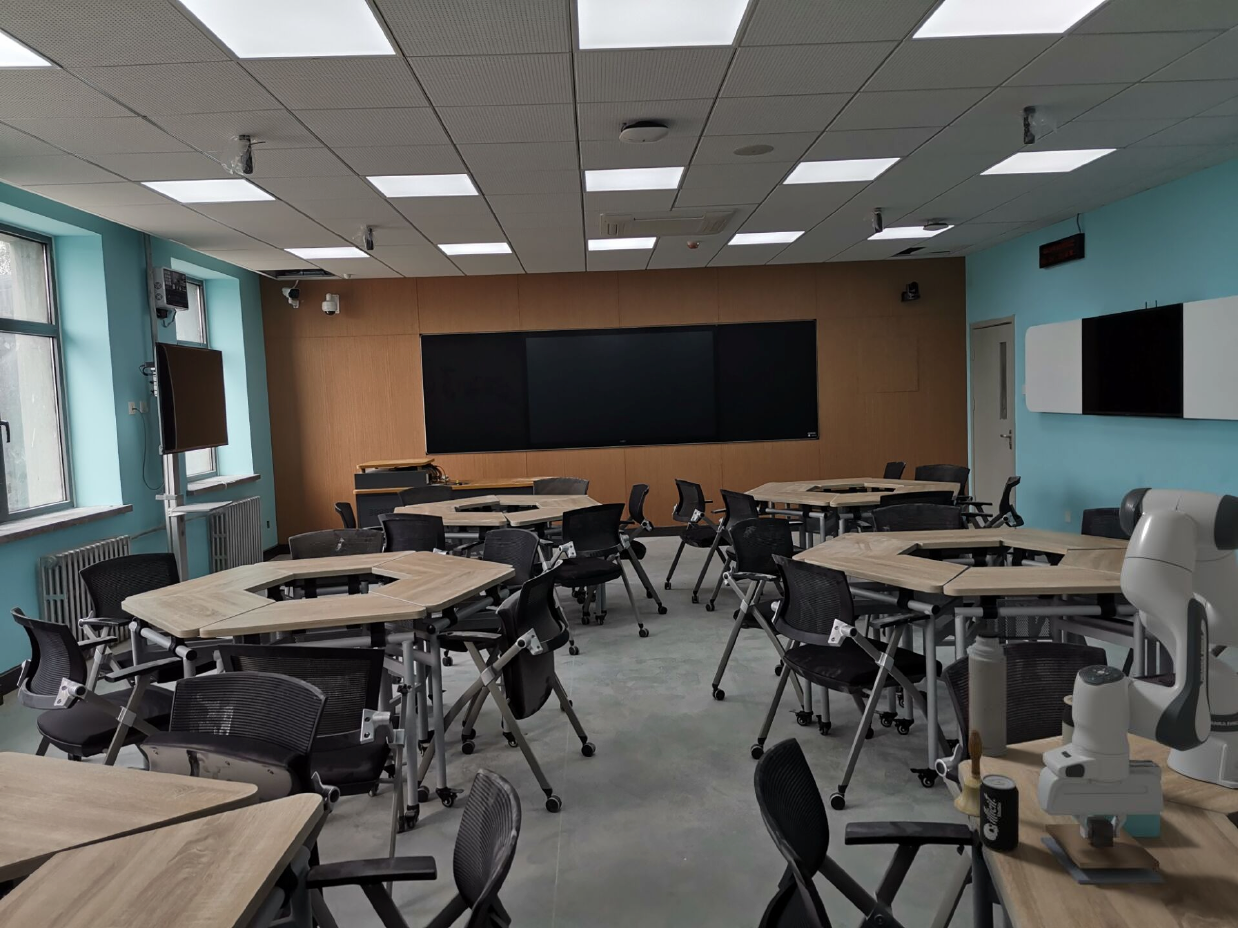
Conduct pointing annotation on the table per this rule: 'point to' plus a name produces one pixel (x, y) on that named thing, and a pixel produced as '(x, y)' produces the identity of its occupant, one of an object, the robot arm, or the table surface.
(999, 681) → the thermos bottle
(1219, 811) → the table surface
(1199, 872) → the table surface
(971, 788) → the hand bell
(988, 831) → the beverage can
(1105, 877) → the tray
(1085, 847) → the lid
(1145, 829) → the dish
